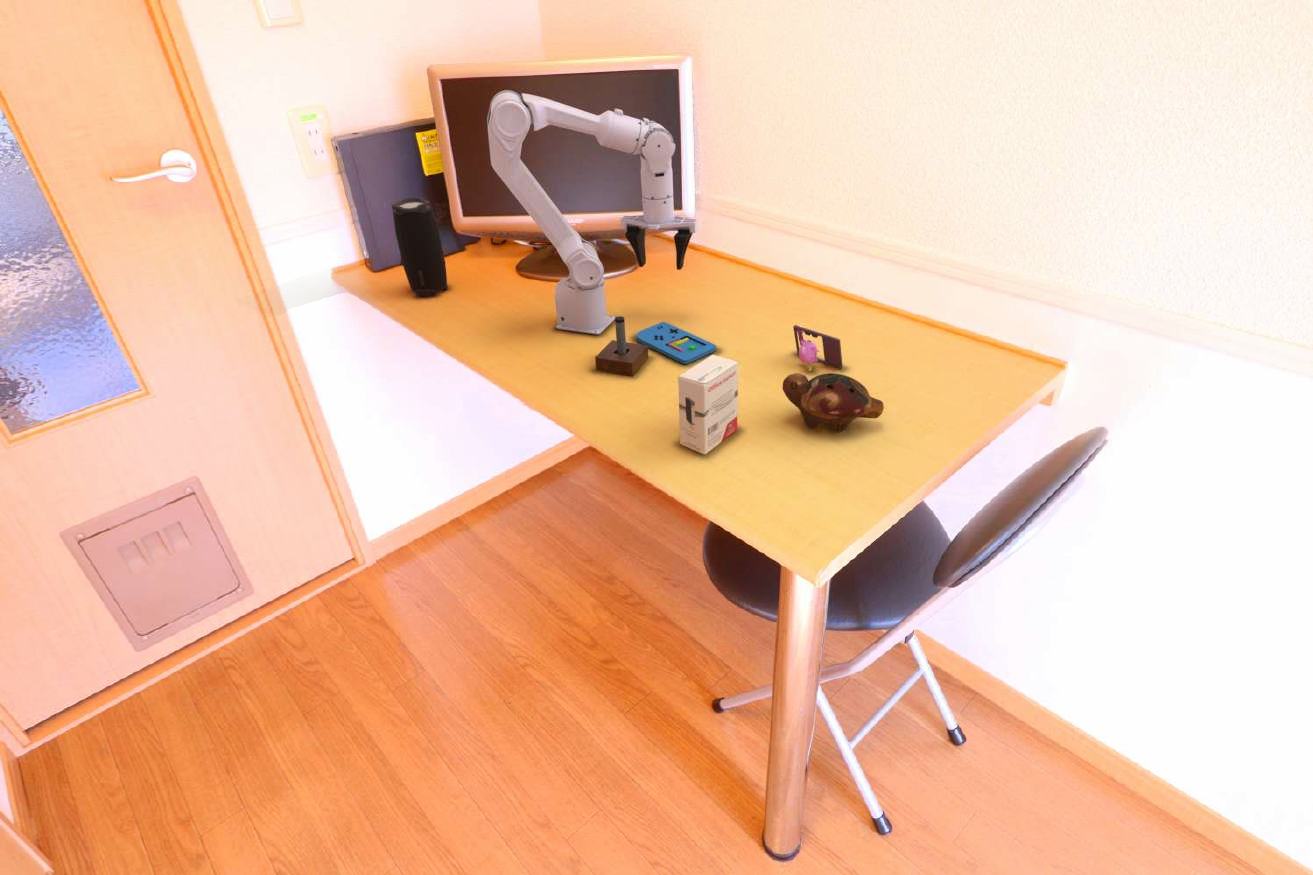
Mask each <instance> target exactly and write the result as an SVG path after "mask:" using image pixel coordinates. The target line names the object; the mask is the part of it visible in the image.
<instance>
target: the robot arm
mask: <svg viewBox="0 0 1313 875" xmlns="http://www.w3.org/2000/svg"><path fill="white" fill-rule="evenodd" d="M486 122H487V136H488V147H489V156H490V165H491V167H492V169H493V170H494V172H495V173H496V174H497V175H498V177H499V178H500V179H501V181H502V182H503V183H504V184H505V186H506V187H507V188H508V190H509V191H510V192H511V193H512V195H513V196H514V197H515V199H516V200H517V201H518V202H519V204H520V205H521V207H523V209H524V210H525V211H526V212H527V214H528V215H529V216H530V218H531V219H532V220H533V221H534V223H535V224H536V225H537V226H538V227H539V229H540V230H541V231H542V233H543V234H544V235H545V237H546V238H547V239H548V241H549V242H550V243H551V244H552V245H553V247H554V248H555V250H556V251H557V253H558V254H559V257H560V258H561V260H562V262H563V263H564V264H565V266H566V267H567V269H568V271H569V275H568V276H567V277H566V278H561V279H560V280H559V281H558V282H557V284H556V286H555V291H554V304H555V311H556V312H555V313H556V320H557V325H556V326H555V328H556V329H557V330H563V331H568V332H569V331H570V332H576V333H583V334H588V335H589V334H590V335H596V336H597V335H598V336H599V335H601V334H602V333H603V332H604V331H605V330H606V329H607V328H608V327H609V326H610V325H611V324H612V323H614V322H615V317H616V316H613V315H608V310H607V298H606V296H607V295H606V283H605V277H604V275H605V274H604V273H605V268H604V265H603V263H602V261H601V260H600V258H599V254H598V251H597V248H596V247H595V245H593V244H592V243H591V242H589V241H587V240H585V239H583V237H581V235H580V234H579V233H578V232H577V231H576V229H575V228H573V227H572V225H571V224H570V223H569V221H568V220H567V219H566V217H565V216H564V215H563V213H562V212H561V210H560V209H559V208H558V206H556V204H555V203H554V202H553V200H552V199H551V197H550V196H549V195H548V193H547V192H546V191H545V189H544V188H543V187H542V186H541V184H540V183H539V182H538V180H537V179H536V178H535V177H534V175H533V174H532V172H531V171H530V170H529V169H528V167H527V166H526V164H525V163H524V162H523V160H522V159H521V153H522V147H523V142H524V140H525V139H526V136H527V134H528V133H529V131H530V127H531V126H532V129H533V131H534V132H537V131H540V130H541V129H544V128H546V127H548V126H554V127H558V128H563V129H566V130H571V131H575V132H579V133H584V134H587V135H591V136H595V137H594V138H596V141H597V143H598V144H599V146H602V147H605V148H609V149H612V150H616V151H619V152H623V153H625V154H626V153H627V154H630V155H633V156H634V155H640V156H639V157H640V184H641V186H640V187H641V201H642V215H640V214H639V215H623V216H622V217H621V218H620V228H621V230H626V232H625V233H624V235H625V239H626V240H627V241H628V243H629V244H630V246H631V248H632V250H633V252H634V255H635V257H636V260H637V264H638V267H639V268H643V267H644V266H645V265H646V264H647V255H646V230H657V231H671V232H672V231H674V232H676V233H675V234H674V235H673V241H674V246H675V256H676V257H675V258H676V261H675V262H676V264H675V265H676V266H675V267H676V270H678V271H680V270H682V269H683V267H684V263H685V256H686V253H687V250H688V246H689V244H690V241H691V239H692V236H693V234H696V233H697V232H698V230H699V228H698V227H699V220H698V219H696V218H688V217H683V216H677V215H675V209H674V208H675V206H674V181H673V179H674V177H673V168H672V157H673V156H674V154H675V151H676V143H674V138H673V135H672V134H671V132H669V130H667V129H666V128H665V127H664V126H663V125H661V124H660V123H657V122H656V121H655V120H649V118H646V117H642V119H639V118H636V117H632V116H629V115H626V114H624V111H623V110H622V109H619V108H614V111H612V110H610V109H609V110H606V111H604V112H603V113H601V114H598V115H597V114H594V113H591V112H588V111H586V110H585V111H584V110H582V109H580V108H576V107H573V106H570V105H567V104H565V103H561V102H558V101H555V100H552V99H549V98H547V97H542V96H538V95H535V94H529V93H523V92H522V93H521V95H520V94H519V93H517V92H516V91H513V90H509V89H508V90H501V91H498V93H496V94H495V95H494V96H492V99H491V101H490V104H489V108H488V113H487V118H486Z"/></svg>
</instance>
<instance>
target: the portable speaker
mask: <svg viewBox="0 0 1313 875" xmlns="http://www.w3.org/2000/svg"><path fill="white" fill-rule="evenodd" d="M391 210H392V216H393V224H394V233H395V238H396V241H397V246H398V250H399V254H400V258H401V263H402V267H403V270H404V273H405V275H406V279H407V281H408V284H409V287H410V289H411V291H413V293H414V294H415V295H416V296H417V297H419V298H431V297H436V294H437V293H438V292H440V291H442V290H444V291H447V290H448V276H447V266H446V258H445V254H444V250H443V249H444V248H443V244H442V239H441V234H440V230H439V226H438V222H437V219H436V217H435V213H434V210H433V207H432V204H431V201H430V200H427V199H425V198H422V197H420V196H410V197H406V198H402V199H401V200H400V201H398V202H395V203H392V204H391Z"/></svg>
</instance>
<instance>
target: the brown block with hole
mask: <svg viewBox="0 0 1313 875" xmlns="http://www.w3.org/2000/svg"><path fill="white" fill-rule="evenodd" d="M626 353H627V354H626V355H620V354H617V340H616V339H611V340H610V342H609V343H607V345H605V346H604V348H603V349H602V350H601V351H599V353H598V354H596V356H595V357H594V361H595V370H596V371H599V372H604V373H611V374H616V375H622V376H628V377H634V376H635V375H636V374H637V372H639V370H640V369H641V368H642V367H643V365H644V364H645V363H646V362H647V361H648V360H649V347H648V345H644V344H642V343H633V342H627V341H626Z"/></svg>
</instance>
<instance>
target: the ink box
mask: <svg viewBox="0 0 1313 875" xmlns="http://www.w3.org/2000/svg"><path fill="white" fill-rule="evenodd" d="M677 383H678V384H677V385H678V412H679V416H678V417H679V420H678V421H679V444H680V445H682V446H684V447H686V448H688V449H690V450H693V451H695V452H697V453H699V454H701V455H707V454H708V453H709V452H710V451H712V450H713V449H715V448H716V447H717V446H718V445H720V444H721V443H722V442H724V441H725V440H726V439H727V438H729V437H730V436H731V435H733V434H734V433H735V432H736V431H738V415H739V414H738V411H739V410H738V407H739V406H738V405H739V404H738V403H739V362H738V361H735V360H732V359H729V358H725V357H723V356H719V355H716V354H710V355H709V356H708V357H706V358H705V359H703V360H701V361H700V362H698V363H697V364H695V365H693V366H692V367H690V368H689V369H687V370H685V371H684V372H682V373H681V374H679V375H678V376H677Z"/></svg>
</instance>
